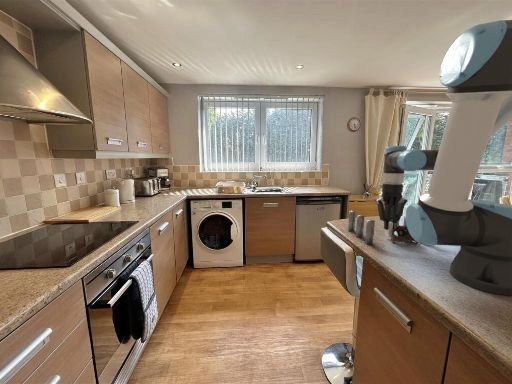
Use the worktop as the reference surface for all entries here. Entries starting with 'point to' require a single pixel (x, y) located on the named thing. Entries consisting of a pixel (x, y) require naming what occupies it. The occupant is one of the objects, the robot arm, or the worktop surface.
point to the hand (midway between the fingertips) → (388, 236)
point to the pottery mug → (401, 235)
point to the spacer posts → (360, 226)
